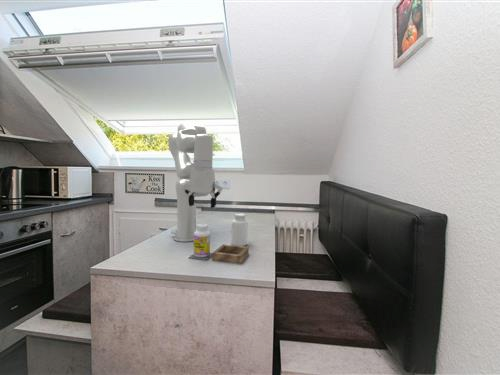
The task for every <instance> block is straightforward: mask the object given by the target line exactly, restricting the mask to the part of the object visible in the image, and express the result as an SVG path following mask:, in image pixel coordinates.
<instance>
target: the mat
mask: <svg viewBox="0 0 500 375" xmlns="http://www.w3.org/2000/svg"><path fill="white" fill-rule="evenodd" d="M212 253H213V252H210V254H209V255H208V256H207V257H196V256H194V253H193V254H191V255H189V256H188V259H190V260H191V259H192V260H199V261H208V260H210V259H211V258H212Z"/></svg>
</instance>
